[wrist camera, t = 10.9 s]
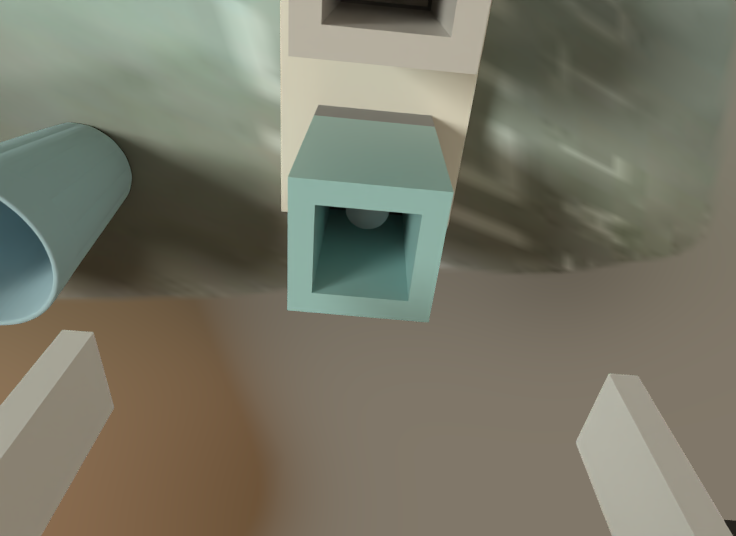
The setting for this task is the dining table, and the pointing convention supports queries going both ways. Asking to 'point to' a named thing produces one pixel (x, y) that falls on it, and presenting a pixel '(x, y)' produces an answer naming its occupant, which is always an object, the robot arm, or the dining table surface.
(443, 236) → the teal sleeve
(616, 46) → the dining table surface
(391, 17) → the grey sleeve
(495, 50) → the dining table surface
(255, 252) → the dining table surface
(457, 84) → the pin board
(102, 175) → the cup
